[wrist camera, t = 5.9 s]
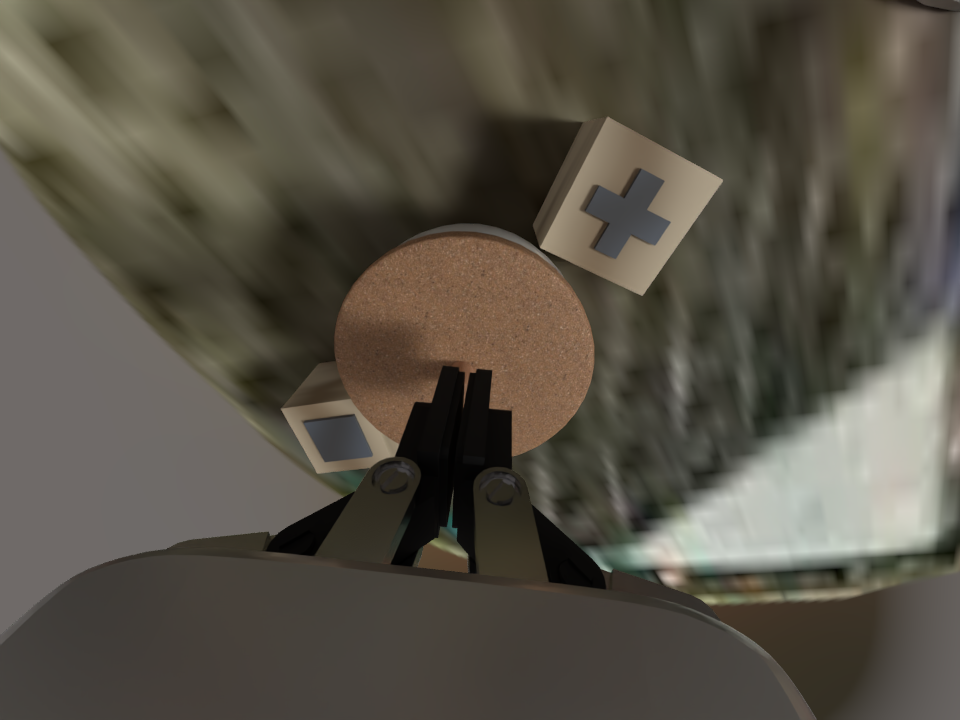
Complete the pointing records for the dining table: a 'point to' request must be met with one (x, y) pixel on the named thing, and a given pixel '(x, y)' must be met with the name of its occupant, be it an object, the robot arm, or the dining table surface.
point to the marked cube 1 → (334, 424)
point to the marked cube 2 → (621, 204)
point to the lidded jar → (465, 330)
